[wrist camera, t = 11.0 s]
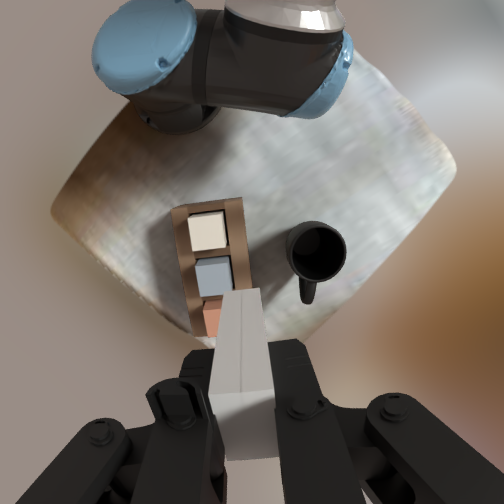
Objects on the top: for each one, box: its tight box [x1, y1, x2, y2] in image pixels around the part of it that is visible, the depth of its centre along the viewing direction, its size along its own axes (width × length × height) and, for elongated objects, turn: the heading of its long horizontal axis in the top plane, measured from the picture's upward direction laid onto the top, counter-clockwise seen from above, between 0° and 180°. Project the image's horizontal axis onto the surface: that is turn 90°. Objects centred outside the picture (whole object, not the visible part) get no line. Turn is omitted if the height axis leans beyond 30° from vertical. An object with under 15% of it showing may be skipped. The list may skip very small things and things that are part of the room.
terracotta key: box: [203, 299, 223, 337], centre depth 45 cm, size 4×4×7 cm
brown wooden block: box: [171, 197, 253, 337], centre depth 46 cm, size 20×10×7 cm, turn 6°
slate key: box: [195, 255, 233, 297], centre depth 44 cm, size 4×4×7 cm
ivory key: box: [188, 209, 228, 251], centre depth 42 cm, size 4×4×7 cm
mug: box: [286, 221, 347, 304], centre depth 45 cm, size 8×12×10 cm
